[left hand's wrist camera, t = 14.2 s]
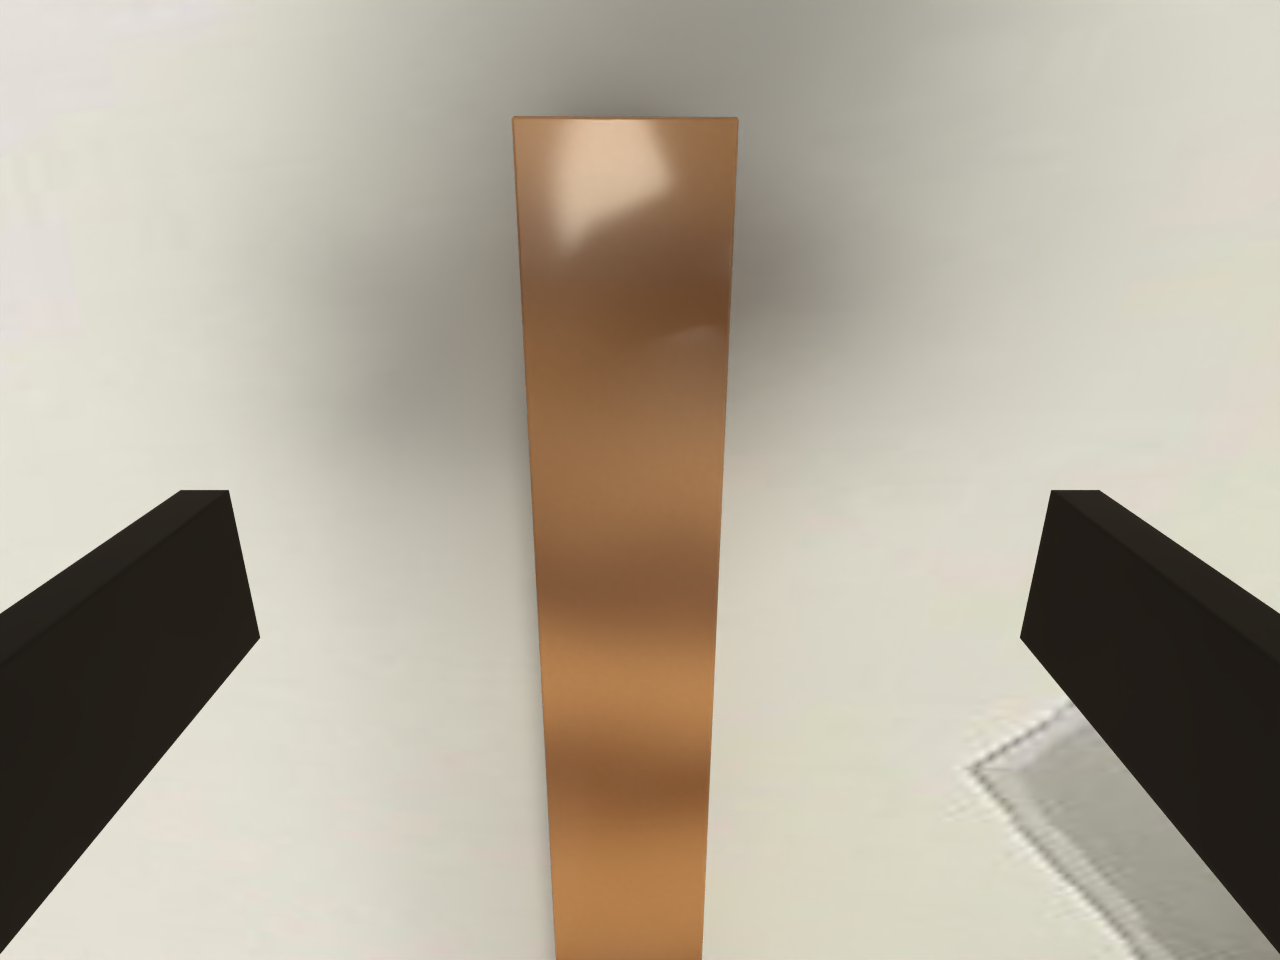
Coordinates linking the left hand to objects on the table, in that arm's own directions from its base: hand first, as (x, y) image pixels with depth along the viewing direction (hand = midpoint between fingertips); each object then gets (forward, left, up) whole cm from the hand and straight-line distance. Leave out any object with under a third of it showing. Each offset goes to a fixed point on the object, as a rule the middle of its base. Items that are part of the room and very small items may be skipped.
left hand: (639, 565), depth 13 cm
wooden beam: (+17, +18, -18) cm, 31 cm away
